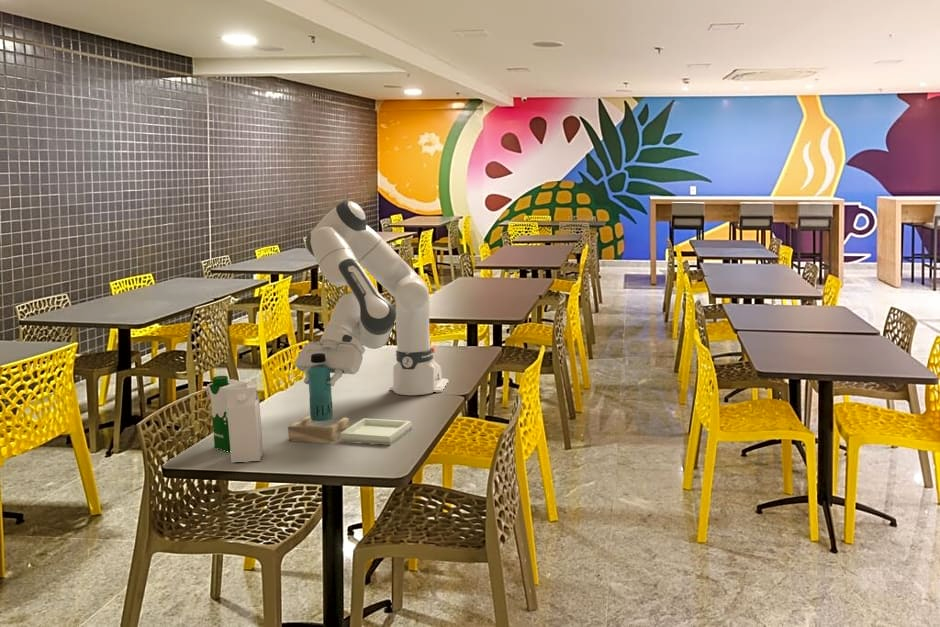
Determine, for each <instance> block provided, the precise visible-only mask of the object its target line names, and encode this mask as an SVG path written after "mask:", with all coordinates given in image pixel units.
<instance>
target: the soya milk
mask: <svg viewBox="0 0 940 627" xmlns="http://www.w3.org/2000/svg"><path fill="white" fill-rule="evenodd" d="M206 385H207V389H208V394H209V397H210V404H211V416H212V429H213V447H214V449H217V448H218V449H217V450H220V449H222V450H221V451H223V450H225V451H224V452H226V451H228V452H227V453H231V452H230V451H231V450H230V439H229V427H228V415H227V401H228V389H234V388H248V381H244V380H243V381H242V380H238V379H233V378H232V379H230V378H229V377H228V375H218V376H217V375H216V376H213V377H212V382H211V383H209V384H208V383H207V384H206Z"/></svg>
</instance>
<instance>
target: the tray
mask: <svg viewBox="0 0 940 627" xmlns="http://www.w3.org/2000/svg"><path fill="white" fill-rule="evenodd" d="M412 422H413V421H412V420H398V419H397V420H396V419H383V418H368V417H367V418H366V417H363V418H362V419H360V420H359V421H357V422H355V423H353V424H352V425H350V426H349V428H347V429H346V430H344V431H343V432H341V433H340V438H339V440H340V441H344V442H343V443H349V442H361V443H360V444H363V443H374V444H373V445H377V444H383V445H382V446H392V445H393V444H394V443H395V442H397V441H399V440H400V439H401V438H403V437H404V436H405V435H407V434H408V433H409V432H410V431H412V430H413V424H412ZM391 444H392V445H391Z"/></svg>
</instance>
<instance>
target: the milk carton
mask: <svg viewBox="0 0 940 627" xmlns="http://www.w3.org/2000/svg"><path fill="white" fill-rule="evenodd" d="M260 407H261V405H260V398H259V395H258V393H257V387H256V386H255V387H254V386H253V387H247V388H234V389H228V401H227V415H228V427H229V439H230V450H231V452H230V459H231V462H230V463H232V462H245V461H259V462H260V461H261V459H262V457H261V456H263V455H264V445H263V444H264V443H263V431H262V430H263V429H262V418H261V408H260ZM245 463H246V462H245Z"/></svg>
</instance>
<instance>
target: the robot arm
mask: <svg viewBox="0 0 940 627" xmlns="http://www.w3.org/2000/svg"><path fill="white" fill-rule="evenodd" d="M367 223H368V222H367V217H366V213H365V211H364V210H363V208H362V207H361V206H360V205H359V204H357V202H355V201H352V200H343V201H341V202H339V203H338V204H337V205H336V206H335V207H333V209H331V210H330V211H329V212H328V213H327V214H325V215H324V216H323V217H322V219H321V220H320V221H319V222H318V223H317V225H315V226H314V228H313V229H312V230H310V231H309V233H308V234H307V236H306V237H305V247H306V249H307V251H308V252H309V253H310V254H311V255H312V257H314V258H315V260H316V262H317V265H318V267H319V268H320V271H321V272H322V274H323V276H324V277H325V279H326V281H328V282H329V283H330V284H331V285H334V286H337V287H344V286H347V287H348V289H349V290H350V292H351V293H350V292H349V293H345V294H344V295H343V296H341V297H340V298H339V300H338V301H337V303H336V305H335V306H334V308H333V310H332V312H331V314H330V318H329V319H330V320H329V323H328V324H327V325H326V326H325V327H324V330H323V333H322V336H321V338H320V340H319V341H309V343H306V344H305V345H304V346H303V347H302V348H301V350H300V352H299V354H298V356H297V357H296V359H295V362H294V365H295V367H296V369H298V370H299V371H300V372H304V375H305V377H304V380H303V382H304V384H305V385H309V380H308V369H309V368H310V367H311V366H313V365H326V366H327V367H328V368H330V374H333V375H332V376H330V378H328V381H327V384H328V385H329V386H332V387H334V386H335V385H336V382H337V381H338V380H340V379H341V378H342V377H343V375H346V374H347V375H356V374H357V373H358V372H359V370H360V367H361V366H362V362H363V355H364V354H365V352H366V349H365V347H366V348H368V349H372V350H375V349H380V348H382V347H384V346H385V345H386V344H387V343H388V341H389V338H390V335H391V333H392V328H393V326H394V324H395V325H396V326H395V332H396V348H397V349H396V350H395V352H396V353H395V357H396V358H395V359H396V363H395V364H394V365H393V370H392V372H393V374H392V375H393V376H392V378H393V380H392V385H390V386H389V391H392V392H394V393H395V394H397V395H401V396H402V395H403V396H420V395H421V396H422V395H429V394H433V392H436V393H442V392H443V391H444V390H445V388H446V387H447V385H448V384H449V379H448V378H445V377H443V376H442V375H443V374H442V366H440V364H438V362H436V361H435V359H434V355H433V354H434V353H435V351H436V349H435V346H431V336H430V335H431V334H430V291H429V288H428V285H426V283H425V281H424V279H423V278H422V277H421V276H420V275H419V274H417V272H416V271H415V270H414V269H413V268H412V267H411V266H410V265H409V264H408V263H407V262H406V261H405V260H404V259H403V258H402V257H401V256H400V255H399V254H398V253H397V252H396V251H395V250H394V249H393V248H392V247H391V246H390V244H389V243H388V242H386V241H385V239H383V237H381V235H380V234H379V233H377V232H376V231H375V230H374V229H373V228H372V227H370V226H369V225H368V224H367ZM364 269H365V270H366V271H365V270H364ZM366 272H367V273H368V274H369V275H370V276H371V277H372V278H373V279H374V280H375V281H376V282H378V284H380V285H381V286H382V288H384V289H385V290H386V291H387V292H388V293H389V294H390V295H391V296H392V297H394V300H395V307H394V305H393V303H392V302H390V301H389V300H388V299H386V298H385V297H384V296H383V295H382V294H381V293H380V292H379V291H378V290H377V288H376V287H375V285H374V284H373V282H372V281H371V279H370V277H369V276H368V275H367V273H366ZM317 353H323V354H325V358H326V361H325V362H322V363H312V362H311V355H312V354H317ZM447 383H448V384H447ZM445 386H446V387H445ZM443 389H444V390H443Z"/></svg>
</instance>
